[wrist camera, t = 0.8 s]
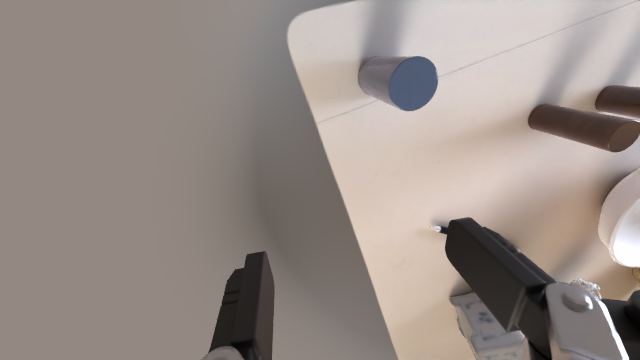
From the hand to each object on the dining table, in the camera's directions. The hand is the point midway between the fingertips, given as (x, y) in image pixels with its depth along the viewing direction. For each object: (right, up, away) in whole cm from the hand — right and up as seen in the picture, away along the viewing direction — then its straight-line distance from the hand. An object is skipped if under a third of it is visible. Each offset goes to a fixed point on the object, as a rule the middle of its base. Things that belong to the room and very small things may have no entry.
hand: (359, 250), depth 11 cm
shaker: (+4, +14, +17) cm, 22 cm away
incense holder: (+26, -21, +37) cm, 50 cm away
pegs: (+31, +12, +21) cm, 39 cm away
